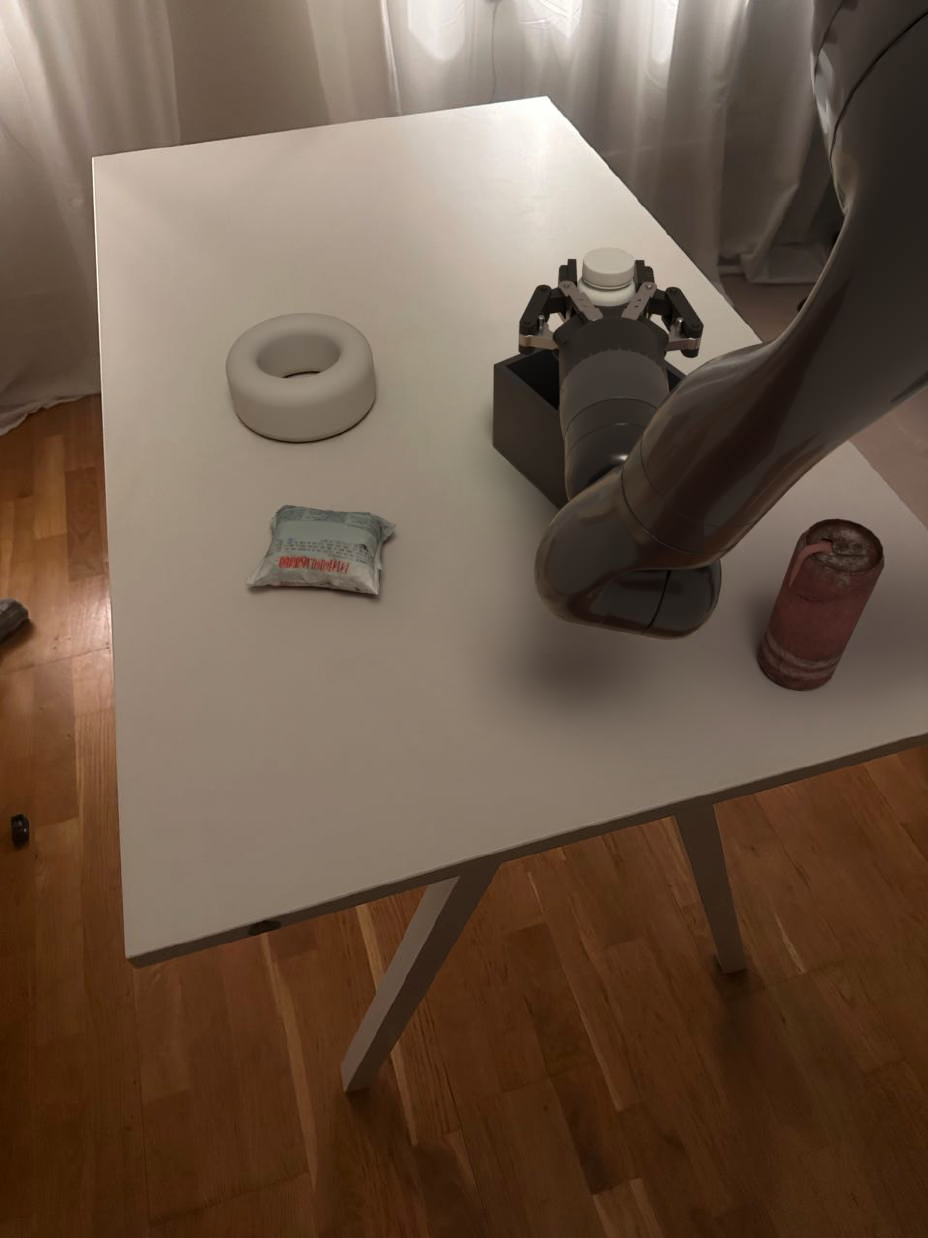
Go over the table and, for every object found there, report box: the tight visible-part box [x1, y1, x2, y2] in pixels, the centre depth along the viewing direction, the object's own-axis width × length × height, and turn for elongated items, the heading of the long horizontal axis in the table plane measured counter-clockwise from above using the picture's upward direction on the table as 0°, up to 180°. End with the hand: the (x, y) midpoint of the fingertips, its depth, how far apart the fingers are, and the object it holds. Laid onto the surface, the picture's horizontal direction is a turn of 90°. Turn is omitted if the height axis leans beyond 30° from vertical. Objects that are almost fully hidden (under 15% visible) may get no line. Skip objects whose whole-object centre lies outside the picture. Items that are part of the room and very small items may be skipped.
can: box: [757, 518, 885, 691], centre depth 73 cm, size 6×6×14 cm
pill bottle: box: [577, 247, 636, 307], centre depth 77 cm, size 5×5×8 cm
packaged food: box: [245, 504, 397, 596], centre depth 84 cm, size 9×12×5 cm
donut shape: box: [225, 312, 377, 443], centre depth 99 cm, size 15×15×7 cm
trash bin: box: [492, 347, 688, 511], centre depth 91 cm, size 14×14×10 cm
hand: (604, 270), depth 77 cm, fingers closed on pill bottle, 4 cm apart
